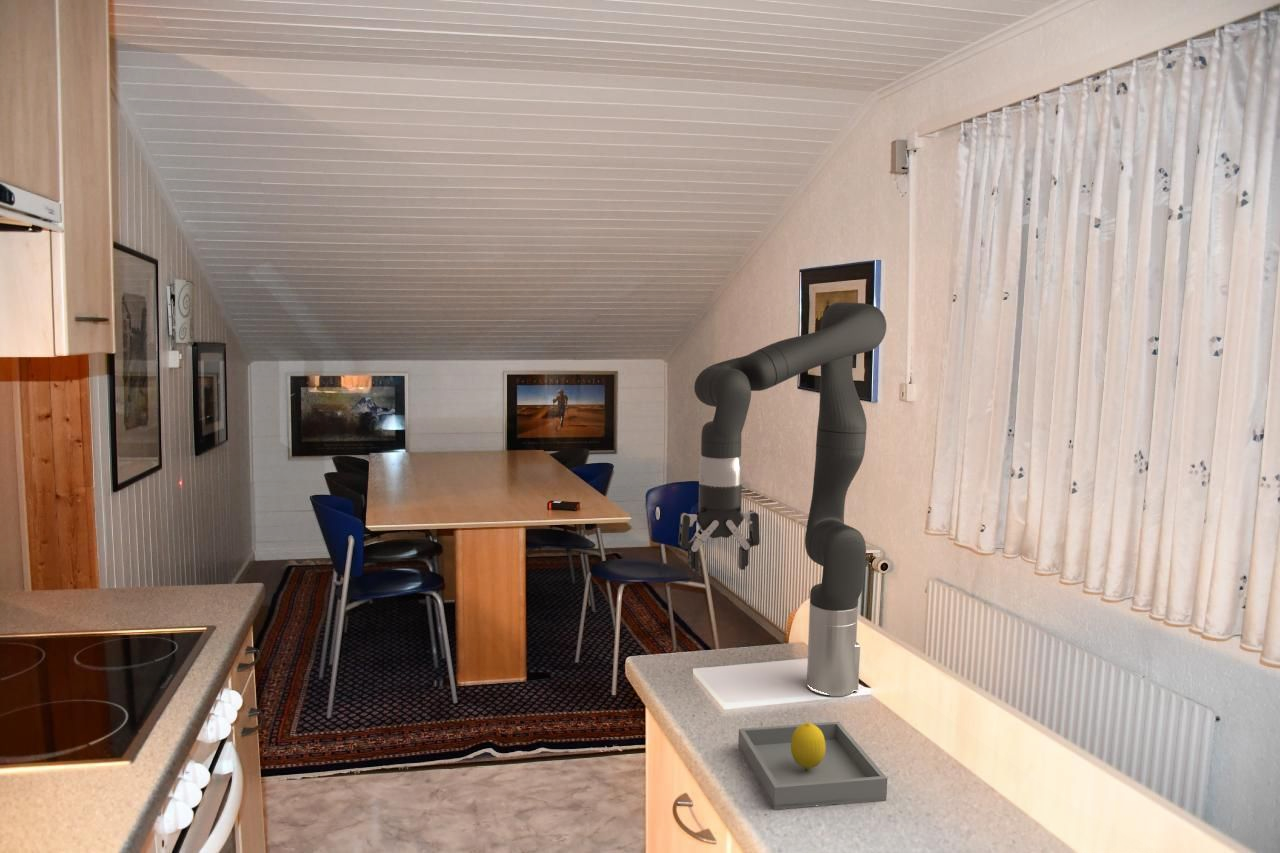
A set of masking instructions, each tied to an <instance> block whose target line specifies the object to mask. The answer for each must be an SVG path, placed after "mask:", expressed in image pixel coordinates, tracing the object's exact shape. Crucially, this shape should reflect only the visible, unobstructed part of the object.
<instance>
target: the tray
mask: <svg viewBox="0 0 1280 853" xmlns="http://www.w3.org/2000/svg"><path fill="white" fill-rule="evenodd" d="M802 724H803V723H802ZM802 724H801V723H800V724H790V725H789V724H788V725H775V726H774V725H773V726H759V727H744V728H738V739H737V740H738V741H737V742H738V745H737V746H738V747H737V749H738V751H739V752H740V755H741V756H742V758H743V759H744V761H745V763H746V764H747V766H748V768H749V770H750V771H751V773H752V774H754V775H753V776H754V778H755V779H756V781H757V783H758V785H759V784H760V785H759V787H760V789H763V790H762V791H764V792H763V793H764V795H765V797H766V796H767V797H766V799H767V800H768V799H769V800H768V801H770V802H769V803H770V805H771V806H773V807H772V809H773V808H774V809H780V810H789V809H788V808H792V809H800V808H799V807H803V808H810V807H809V806H815V807H817V806H816V805H826V806H832V805H831V804H838V805H847V804H848V803H849V804H857V803H858V804H859V803H870V802H881V801H882V802H883V801H887V792H888V777H887V775H885V774H884V773H883V771H882V770H881V769H880V767H878V766H877V765H876V763H875V762H874V761H873V760H872V758H870V756H869V755H868V753H866V752H865V750H864V749H863V748H862V746H861V745H859V743H858V742H857V741H856V740H855V739H854V737H853V736H852V735H851V734H850V733H849V731H848V730H847V729H846V728H845V727H844V726H843V724H842V723H841V722H840V721H829V722H828V721H827V722H814V723H812V724H813V725H815V726H817V727H818V728H819V729H820V730H821V731H822V733H823V736H824V740H825V755H824V757H823V760H822V761H821V763H820V764H818V765H817V766H815V767H812V768H810V769H809V770H806V769H805V768H804V767H802V766H800V765H799V764H798V763H797V762H796V761H795V760H794V758H793V756H792V753H791V739H792V735H793V733H794V731H795V730H796V728H797V727H799V726H800V725H802ZM829 804H830V805H829ZM849 804H848V805H849ZM807 806H808V807H807ZM797 807H798V808H797ZM784 808H785V809H784ZM786 808H787V809H786ZM774 809H773V810H774Z"/></svg>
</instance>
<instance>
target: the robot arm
mask: <svg viewBox="0 0 1280 853" xmlns="http://www.w3.org/2000/svg"><path fill="white" fill-rule="evenodd" d="M819 328H820V329H819V330H818V331H814V332H811V333H807V334H803V335H798V336H794V337H789V338H785V339H781V340H779V341H776V342H774V343H771V344H768V345H766V346H764V347H761V348H759V349H757V350H755V351H752V352H750V353H749V354H746V355H744V356H739V357H736V358H730V359H728V360H724V361H721V362H720V361H719V362H717V363H714V364H712V365H710V366H708V367H706V368H705V369H703V370H702V371H701V372H699V373H698V376H696V379H695V381H694V393H695V396H696V398H697V399H698V400H699V401H700V402H701V403H702V404H705V405H706V406H709V407H712V408H713V407H714V408H715V411H714V415H713V419H712V420H711V421H707V422H706V423H705V424H703V426H702V428H701V442H700V443H701V445H700V461H699V470H698V475H699V476H698V478H699V479H698V510H697V513H696V514H695V513H694V514H690V513H686V512H682V513H681V514H680V517H679V530H678V532H679V533H678V544H679V546H680V548H682V549H684V550H688V566H689V568H690V569H691V570H692V572H694V573H699V571H700V570H699V569H700V568H699V567H700V566H699V564H700V563H699V562H700V551H699V549H700V547H701V546H702V545H703V543H705V542H706V541H707V540H708V538H711V539H717V538H730V537H733V538H734V539H735V540H736V541H737V543H738V544H739V546H738V554H737V555H738V556H737V557H738V560H737V561H738V563H737V564H738V568H739V570H741V571H743V570H746V567H748V566H749V558H750V556H749V552H750V549H751V548H752V547H758V546H759V545H760V518H759V517H760V516H759V514H758V513H757V512H756V511H755V510H752V509H751V510H749V511H748V512H742V490H743V487H742V486H743V482H742V481H743V465H742V432H743V429H744V426H745V422H746V420H747V415H748V411H749V408H750V405H751V404H750V403H751V398H752V392H760V391H762V392H763V391H765V390H768V389H771V388H772V387H774V386H777V385H779V384H781V383H784V382H785V381H787V380H789V379H791V378H793V377H796V376H798V375H800V374H802V373H804V372H807V371H809V370H812V369H814V368H817V367H820V384H819V385H820V386H819V406H818V407H819V408H818V409H819V410H818V419H817V428H816V442H815V459H814V460H815V461H814V470H813V471H814V474H813V484H812V494H811V495H812V496H811V501H810V507H809V513H808V516H807V522H806V523H807V524H806V529H805V536H804V547H805V552H806V554H807V556H808V557H809V558H810V560H811V561H813V562H814V563H815V564H817V565H820V566H821V567H822V577H821V583H817V584H815V585H813V586H812V587H811V589H810V592H809V614H808V615H809V618H808V619H809V620H808V643H807V644H808V646H807V670H806V671H807V672H806V685H807V684H808V685H809V686H810V687H812V688H813V689H816V690H818V691H821V692H824V693H827V694H829V695H830V696H829V697H844V696H849V695H850V693H851V692H852V691H853V690H858V691H859V685H860V684H859V681H860V680H859V678H860V662H861V661H860V660H861V659H860V658H861V645H860V643H859V642H857V639H858V638H857V637H858V636H857V634H858V610H859V599H860V596H861V594H862V592H863V589H864V582H865V571H866V562H867V545H866V541H865V537H864V535H863V534H862V533H861V531H859V529H857V528H854V527H853V526H850V525H847V524H845V504H846V497H847V493H848V490H849V487H850V486H851V484H852V482H853V480H854V479H855V477H856V475H857V472H858V471H859V469H860V467H861V465H862V463H863V460H864V457H865V450H866V439H867V429H868V428H867V416H866V414H865V410H864V408H863V404H862V402H861V400H860V397H859V395H858V391H857V389H856V386H855V382H854V376H853V362H854V356H856V355H859V354H863V353H868V352H870V351H871V352H872V351H873V350H874V349H876V348H877V347H879V345H880V344H882V342H883V340H884V338H885V336H886V333H887V320H886V317H885V315H884V313H883V311H882V310H880V309H879V308H878V307H876V306H875V305H873V304H868V303H863V302H861V303H860V302H846V301H845V302H844V301H843V302H841V301H840V302H839V301H838V302H835V303H832V304H831V305H829V306H828V307H827V308H826V309H825V311H824V312H823V315H822V319H821V322H820V327H819ZM743 520H745V523H746V524H747V525H748V538H745V537H744V535H743V534H742V533H741V531H740V529H739V527H740V525H741V524H742V523H743ZM695 522H697V523H698V525H699V528H698V529H697V530H696V532H695V533H694V535H693V537H692V538H691V539H690V540H689V538H690V527H693V525H694V523H695ZM852 693H853V692H852ZM852 693H851V694H852Z"/></svg>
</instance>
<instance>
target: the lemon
mask: <svg viewBox="0 0 1280 853" xmlns="http://www.w3.org/2000/svg"><path fill="white" fill-rule="evenodd" d="M791 753H792V756H793V758H794V760H795V761H796V762H797V763H798V764H799V765H800V766H802V767H804V768H805V769H806V770H809V769H810V768H812V767H815V766H817V765H818V764H820V763H821V761H822V760H823V757H824V755H825V740H824V736H823V733H822V731H821V730H820V729H819V728H818V727H817V726H815V725H813V723H811V722H810V721H809V722H805V723H802V725H800V726H799V727H797V728H796V730H795V731H794V733H793V735H792V739H791Z"/></svg>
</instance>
